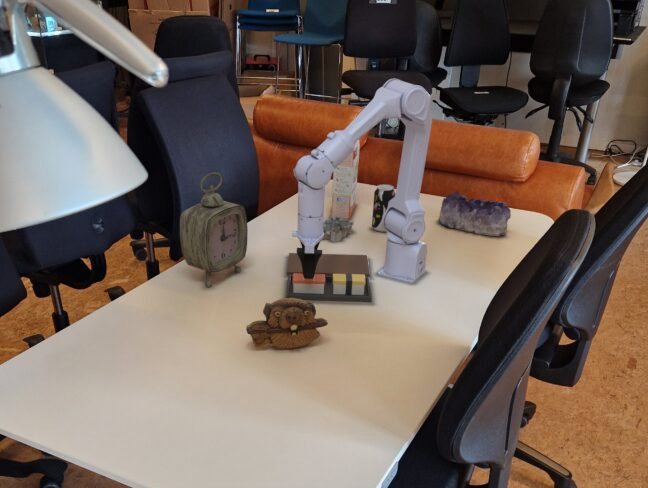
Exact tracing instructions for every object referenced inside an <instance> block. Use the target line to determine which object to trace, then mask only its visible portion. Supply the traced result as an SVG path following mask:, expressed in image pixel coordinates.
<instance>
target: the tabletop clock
mask: <svg viewBox="0 0 648 488" xmlns="http://www.w3.org/2000/svg"><path fill="white" fill-rule="evenodd" d="M213 176H217V178H219V183H218V185H216V186H214V185H212V184H211V185H209V187H208V189H204V188H203V185H204V183H205V181H206V180H207V179H208V178H210V177H213ZM222 183H223V177H222V175H221V174H220V173H219V172H210V173H207V174H206V175H205V176H204V177H203V178H202V179H201V182H200V185H199V186H200V190H201V192H203V193H205V194H204V195H203V196H202V198H201V200H200V203H198V204H194V205H193V206H191V207H189V208H187V209H185V210H184V211H182V212H181V213H180V218H179V236H180V237H179V240H180V247H181V248H180V249H181V254H182V256H183V258H184V261H185V263H186V264H187V265H188V266H189V267H192V268H196V269H199V270H202V271H204V273H205V275H206V280H205V281H204V285H205V287H206V288H210V287H211V286H212V285H213V284H212V281H211V280H210V276H212V274H217V273H220V272H224V271H226V270H229V269H230V268H232V267H234V272H235V273H241V272H242V267H241V266H239V265H238V264H239V263H240V262H242V261H243V260H244V258H245V257H246V255H247V250H248V232H249V231H248V230H249V229H248V218H247V212H246V209H245V206H244V205H240V204H237V203H233V202H229V201H226V200H224V199H223V197H222V196H221V194H219V193H217V192H216V191H218V189H220V187H221V186H222Z"/></svg>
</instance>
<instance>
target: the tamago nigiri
mask: <svg viewBox="0 0 648 488" xmlns="http://www.w3.org/2000/svg"><path fill="white" fill-rule="evenodd" d="M365 283H366V281H365V275H364V274H351V273H346V274H333V294H345V295H364V285H365Z"/></svg>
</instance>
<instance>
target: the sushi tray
mask: <svg viewBox="0 0 648 488" xmlns="http://www.w3.org/2000/svg"><path fill="white" fill-rule="evenodd" d="M365 281H366V283H365V285H364V295H345V294H333V276H325V284H324V294H311V293H293V284H294V283H293V275H287V283H286V292H285V293H286V294H285V298H296V299H301V300H304V301H306V302H308V301H312V302H339V303H346V302H347V303H372V290H371V283H370V278H369V277H365Z"/></svg>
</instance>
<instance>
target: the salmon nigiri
mask: <svg viewBox="0 0 648 488" xmlns="http://www.w3.org/2000/svg"><path fill="white" fill-rule="evenodd" d="M293 283H294V284H293V293H311V294H324V284H325V274H315V275H314V278H313V279H304V276H303V274H300V273H293Z"/></svg>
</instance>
